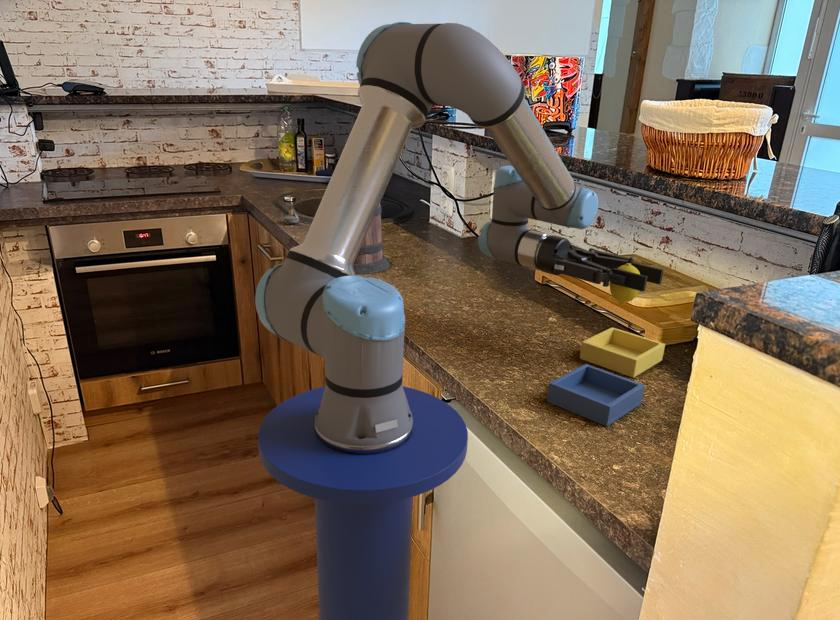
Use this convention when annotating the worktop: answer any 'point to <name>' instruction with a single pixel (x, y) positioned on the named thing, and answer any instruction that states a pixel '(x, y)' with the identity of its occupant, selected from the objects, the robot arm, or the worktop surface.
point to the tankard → (371, 249)
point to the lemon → (623, 292)
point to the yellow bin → (622, 351)
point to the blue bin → (595, 394)
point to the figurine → (291, 217)
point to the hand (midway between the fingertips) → (653, 280)
